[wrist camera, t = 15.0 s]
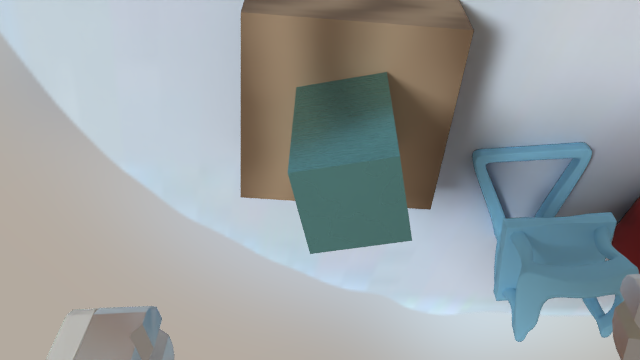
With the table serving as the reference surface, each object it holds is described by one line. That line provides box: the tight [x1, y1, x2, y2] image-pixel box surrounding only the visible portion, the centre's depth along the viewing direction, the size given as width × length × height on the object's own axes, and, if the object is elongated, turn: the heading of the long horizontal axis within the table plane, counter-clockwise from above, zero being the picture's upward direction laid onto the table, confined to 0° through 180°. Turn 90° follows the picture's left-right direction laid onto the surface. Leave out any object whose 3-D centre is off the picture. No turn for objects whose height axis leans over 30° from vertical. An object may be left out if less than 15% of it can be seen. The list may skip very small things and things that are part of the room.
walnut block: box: [241, 0, 474, 209], centre depth 37 cm, size 12×12×5 cm
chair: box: [473, 142, 639, 342], centre depth 39 cm, size 8×8×12 cm
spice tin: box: [288, 72, 412, 254], centre depth 31 cm, size 5×5×8 cm
